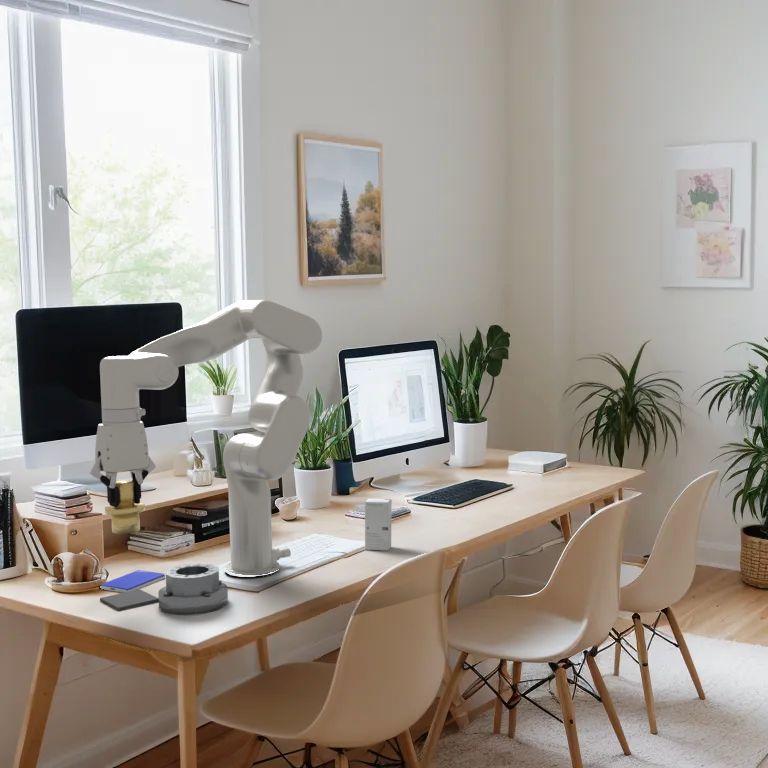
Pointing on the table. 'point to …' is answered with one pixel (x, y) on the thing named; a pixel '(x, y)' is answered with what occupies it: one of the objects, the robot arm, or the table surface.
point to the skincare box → (378, 524)
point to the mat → (129, 599)
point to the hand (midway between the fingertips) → (124, 503)
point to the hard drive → (132, 581)
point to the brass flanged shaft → (125, 510)
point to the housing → (193, 590)
